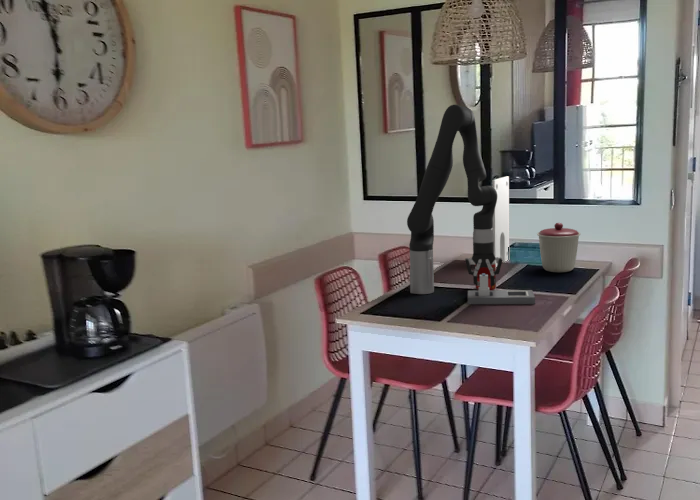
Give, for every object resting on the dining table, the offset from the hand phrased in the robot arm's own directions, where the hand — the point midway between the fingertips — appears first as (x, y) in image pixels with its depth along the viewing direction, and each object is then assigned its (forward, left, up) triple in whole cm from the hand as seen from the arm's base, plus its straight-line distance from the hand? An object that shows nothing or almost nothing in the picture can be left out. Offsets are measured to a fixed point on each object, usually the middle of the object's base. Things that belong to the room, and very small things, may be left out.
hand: (483, 285), depth 258 cm
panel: (+6, 0, -6) cm, 8 cm away
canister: (+33, +52, -6) cm, 62 cm away
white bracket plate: (+3, +70, -6) cm, 70 cm away
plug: (0, 0, -6) cm, 6 cm away
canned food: (+1, +19, -6) cm, 20 cm away
